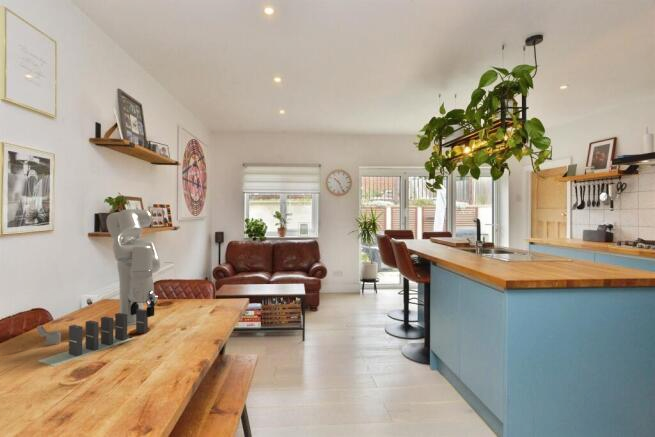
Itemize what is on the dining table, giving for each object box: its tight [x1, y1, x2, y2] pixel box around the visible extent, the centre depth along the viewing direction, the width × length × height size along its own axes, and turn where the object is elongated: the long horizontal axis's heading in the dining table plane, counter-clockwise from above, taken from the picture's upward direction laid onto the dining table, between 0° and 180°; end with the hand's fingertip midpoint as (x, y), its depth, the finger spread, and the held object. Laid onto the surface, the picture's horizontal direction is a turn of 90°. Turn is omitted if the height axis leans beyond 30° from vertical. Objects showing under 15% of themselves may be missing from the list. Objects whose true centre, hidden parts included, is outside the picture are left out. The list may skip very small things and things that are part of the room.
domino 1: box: [68, 324, 83, 356], centre depth 117 cm, size 2×5×10 cm, turn 66°
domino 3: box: [100, 316, 115, 345], centre depth 127 cm, size 2×5×10 cm, turn 66°
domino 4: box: [114, 312, 128, 341], centre depth 132 cm, size 2×5×10 cm, turn 66°
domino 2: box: [85, 320, 100, 351], centre depth 122 cm, size 2×5×10 cm, turn 66°
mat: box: [37, 335, 132, 367], centre depth 122 cm, size 10×27×1 cm, turn 156°
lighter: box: [36, 324, 62, 346], centre depth 127 cm, size 7×2×8 cm, turn 114°
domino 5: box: [135, 308, 149, 334], centre depth 140 cm, size 2×5×10 cm, turn 66°
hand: (142, 315), depth 140 cm, fingers open, 9 cm apart
